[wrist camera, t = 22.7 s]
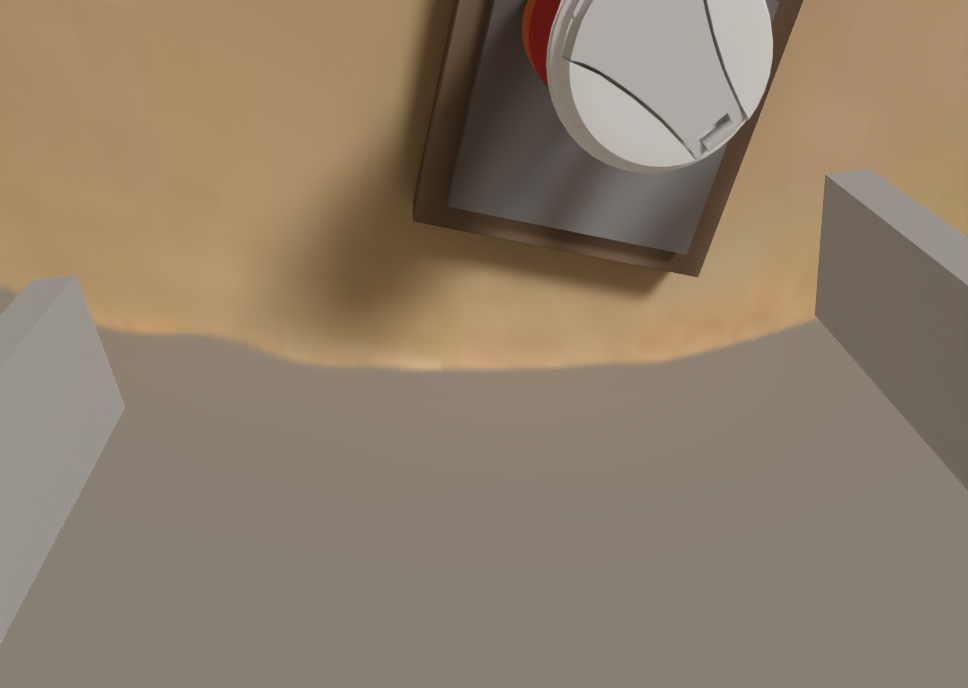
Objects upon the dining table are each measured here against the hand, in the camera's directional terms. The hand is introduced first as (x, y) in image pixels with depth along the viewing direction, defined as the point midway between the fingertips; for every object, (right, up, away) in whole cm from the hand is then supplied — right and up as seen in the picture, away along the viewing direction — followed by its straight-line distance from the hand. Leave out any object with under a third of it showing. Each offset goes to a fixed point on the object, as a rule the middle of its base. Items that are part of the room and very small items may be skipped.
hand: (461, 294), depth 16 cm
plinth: (+6, +13, +31) cm, 34 cm away
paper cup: (+5, +14, +25) cm, 29 cm away
